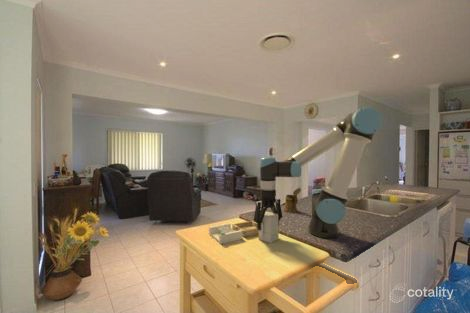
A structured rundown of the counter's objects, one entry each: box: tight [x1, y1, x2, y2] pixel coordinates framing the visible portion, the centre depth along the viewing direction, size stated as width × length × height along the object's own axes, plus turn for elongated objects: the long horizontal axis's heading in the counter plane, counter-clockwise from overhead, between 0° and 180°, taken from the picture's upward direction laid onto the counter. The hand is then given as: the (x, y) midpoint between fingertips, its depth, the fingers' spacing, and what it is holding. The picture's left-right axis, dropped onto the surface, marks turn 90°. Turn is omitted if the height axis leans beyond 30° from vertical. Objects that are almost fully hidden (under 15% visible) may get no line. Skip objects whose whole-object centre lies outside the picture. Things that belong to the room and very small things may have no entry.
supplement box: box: [258, 210, 279, 244], centre depth 111 cm, size 7×7×13 cm
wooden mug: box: [283, 187, 302, 213], centre depth 160 cm, size 9×14×18 cm, turn 29°
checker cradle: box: [208, 222, 243, 245], centre depth 115 cm, size 14×12×5 cm
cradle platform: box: [216, 225, 235, 233], centre depth 115 cm, size 9×6×1 cm, turn 29°
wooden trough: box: [231, 220, 259, 239], centre depth 122 cm, size 13×13×3 cm
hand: (268, 234), depth 111 cm, fingers closed on supplement box, 9 cm apart
